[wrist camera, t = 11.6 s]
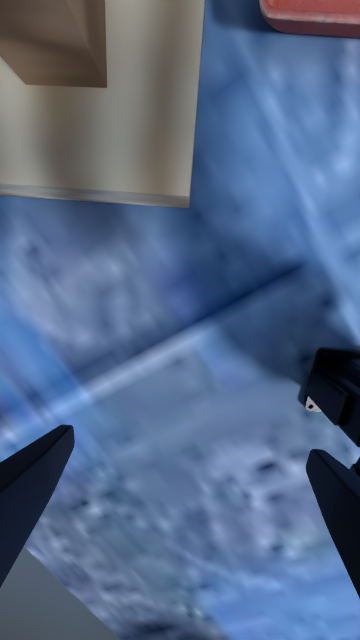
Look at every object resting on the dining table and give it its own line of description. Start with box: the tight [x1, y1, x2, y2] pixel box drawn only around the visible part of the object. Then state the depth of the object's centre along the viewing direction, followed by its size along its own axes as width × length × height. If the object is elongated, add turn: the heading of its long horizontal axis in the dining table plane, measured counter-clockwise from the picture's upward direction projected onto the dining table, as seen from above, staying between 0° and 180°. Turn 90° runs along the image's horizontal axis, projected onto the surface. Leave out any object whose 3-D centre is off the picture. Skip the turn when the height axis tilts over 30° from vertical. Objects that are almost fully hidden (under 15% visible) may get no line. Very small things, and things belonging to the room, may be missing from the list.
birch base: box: [0, 0, 206, 208], centre depth 13 cm, size 16×16×3 cm
